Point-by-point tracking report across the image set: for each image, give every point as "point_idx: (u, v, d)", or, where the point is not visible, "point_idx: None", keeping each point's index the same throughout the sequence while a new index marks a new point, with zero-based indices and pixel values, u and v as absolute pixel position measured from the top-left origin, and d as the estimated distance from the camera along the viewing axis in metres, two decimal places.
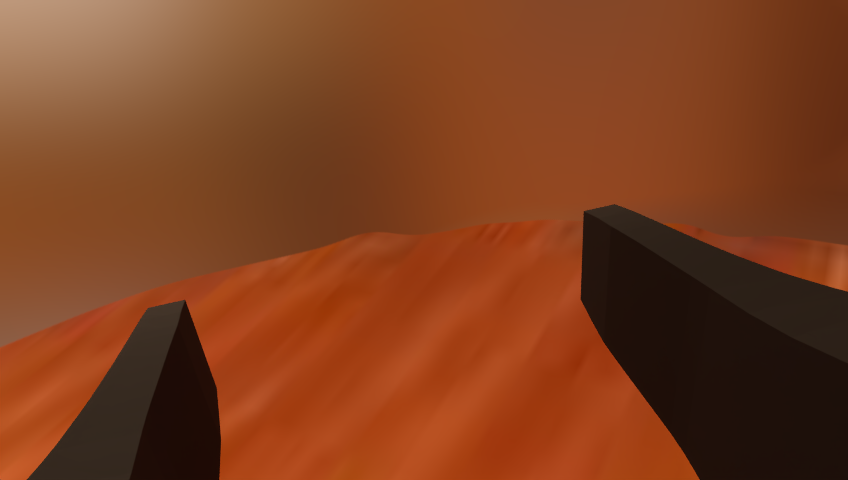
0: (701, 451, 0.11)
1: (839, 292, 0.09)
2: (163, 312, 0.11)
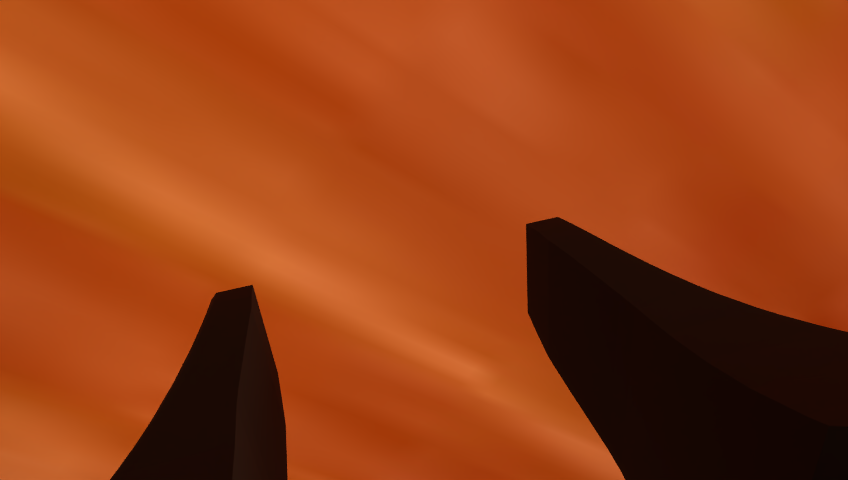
0: (635, 470, 0.10)
1: (763, 311, 0.09)
2: (234, 296, 0.11)
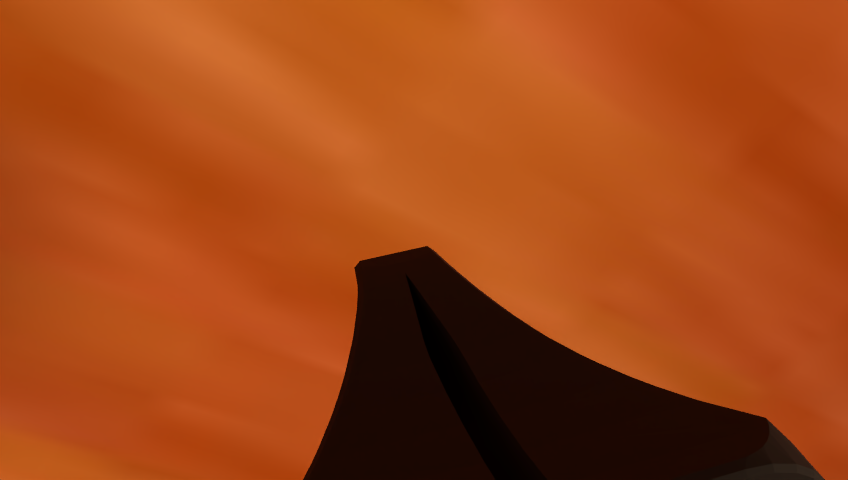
0: None
1: (586, 357, 0.08)
2: (381, 263, 0.12)
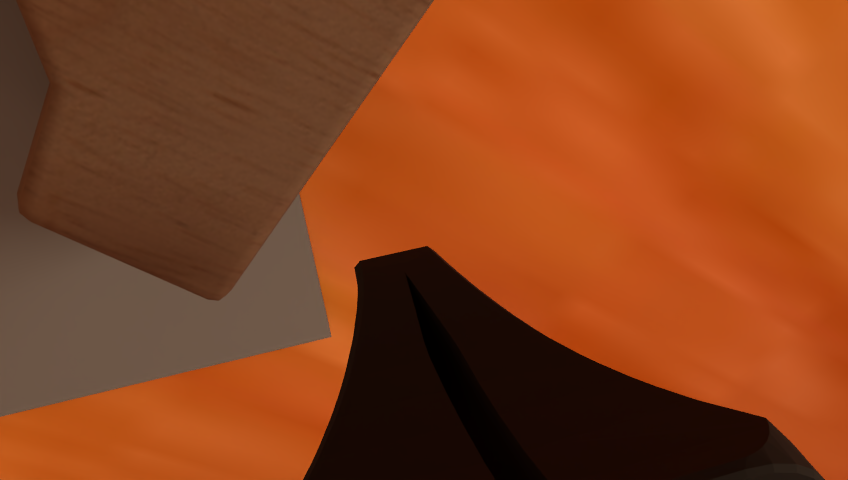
0: None
1: (585, 357, 0.08)
2: (381, 263, 0.12)
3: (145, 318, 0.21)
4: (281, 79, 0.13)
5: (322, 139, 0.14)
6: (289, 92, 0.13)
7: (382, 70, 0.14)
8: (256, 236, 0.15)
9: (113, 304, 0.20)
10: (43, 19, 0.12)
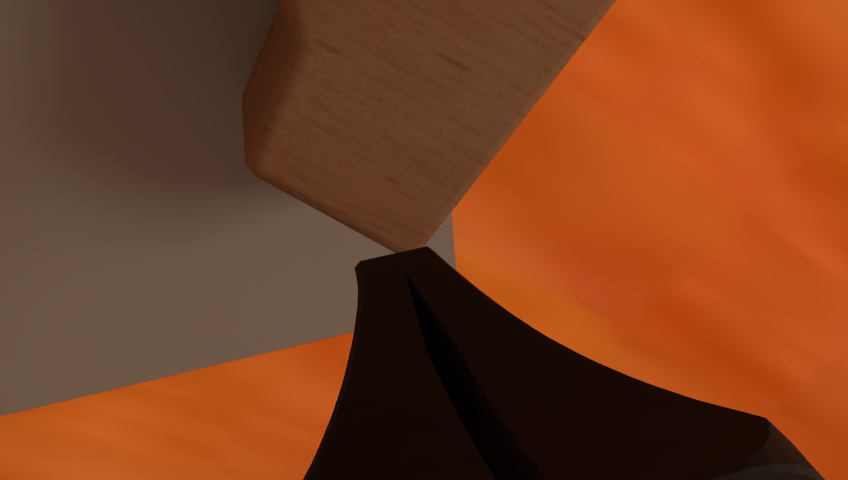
0: None
1: (585, 357, 0.08)
2: (380, 263, 0.12)
3: (291, 285, 0.21)
4: (501, 40, 0.14)
5: (528, 100, 0.15)
6: (505, 53, 0.14)
7: (588, 34, 0.14)
8: (456, 194, 0.15)
9: (264, 271, 0.21)
10: None
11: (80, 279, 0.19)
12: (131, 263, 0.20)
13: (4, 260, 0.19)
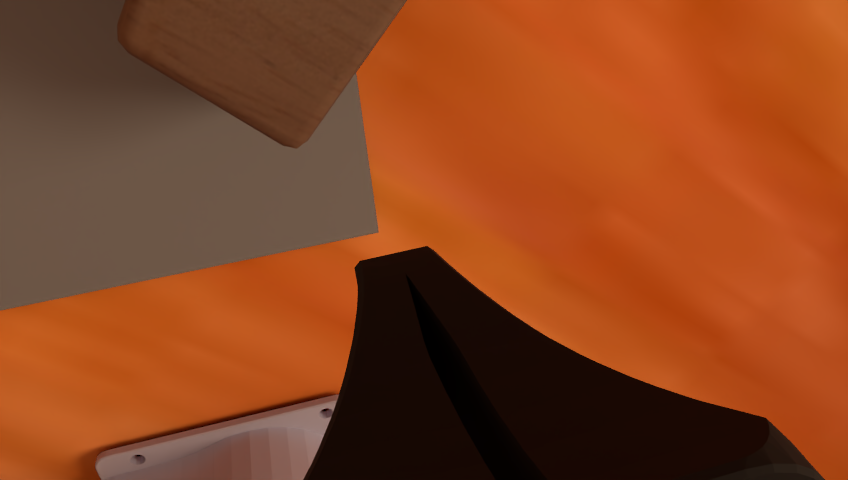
0: None
1: (586, 357, 0.08)
2: (381, 263, 0.12)
3: (203, 202, 0.21)
4: None
5: None
6: None
7: None
8: (337, 81, 0.15)
9: (175, 186, 0.21)
10: None
11: None
12: (35, 171, 0.20)
13: None
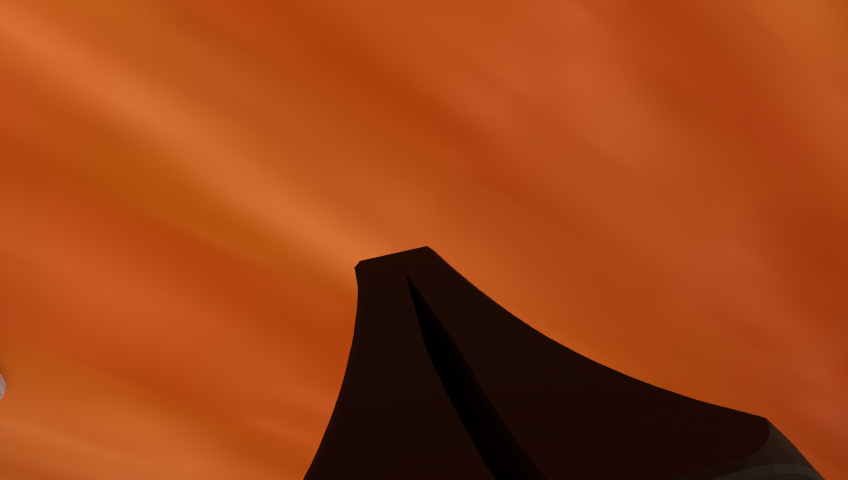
0: None
1: (585, 357, 0.08)
2: (381, 263, 0.12)
3: None
4: None
5: None
6: None
7: None
8: None
9: None
10: None
11: None
12: None
13: None
